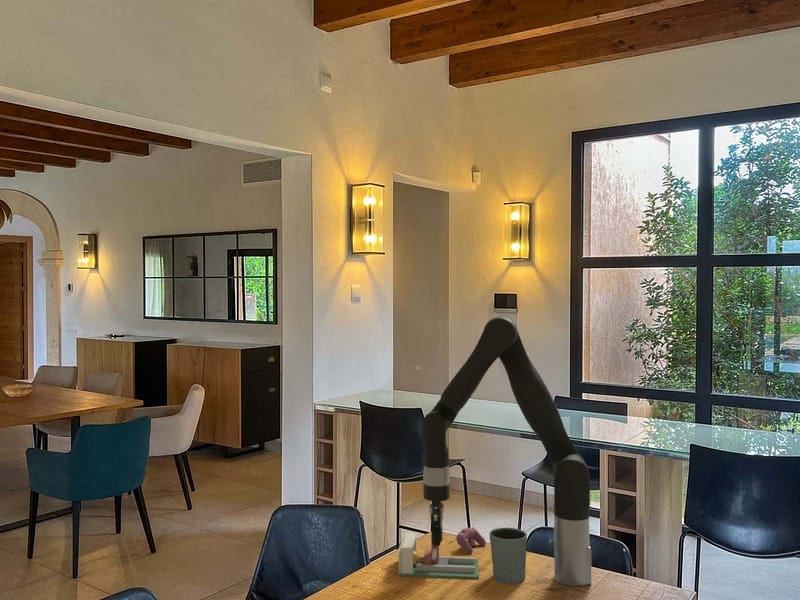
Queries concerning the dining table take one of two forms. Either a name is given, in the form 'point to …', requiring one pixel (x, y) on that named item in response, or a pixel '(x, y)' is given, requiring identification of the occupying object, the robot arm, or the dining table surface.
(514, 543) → the green cup
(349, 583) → the dining table surface
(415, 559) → the ball
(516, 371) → the robot arm
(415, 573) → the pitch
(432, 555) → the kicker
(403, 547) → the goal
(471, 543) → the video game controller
